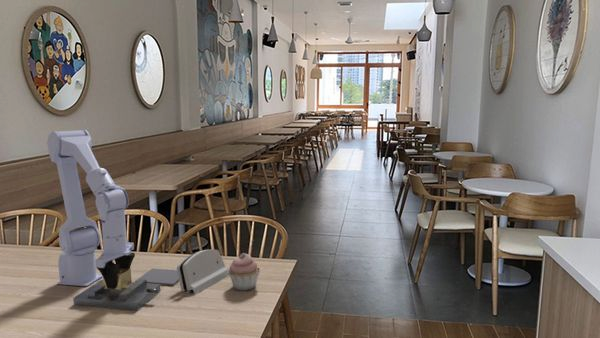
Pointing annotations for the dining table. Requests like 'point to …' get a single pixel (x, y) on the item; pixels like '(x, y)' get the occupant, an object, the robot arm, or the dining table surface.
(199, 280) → the hinge
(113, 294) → the vise
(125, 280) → the collar
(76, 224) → the robot arm
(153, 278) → the mat
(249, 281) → the cupcake
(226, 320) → the dining table surface
